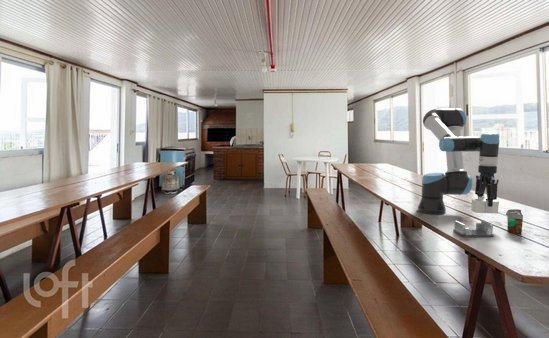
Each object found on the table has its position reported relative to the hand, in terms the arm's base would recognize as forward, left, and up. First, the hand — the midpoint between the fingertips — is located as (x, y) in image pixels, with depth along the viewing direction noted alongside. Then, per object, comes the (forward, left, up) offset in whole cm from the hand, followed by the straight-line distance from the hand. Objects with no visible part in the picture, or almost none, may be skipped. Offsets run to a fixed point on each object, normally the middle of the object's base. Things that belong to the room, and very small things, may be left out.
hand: (484, 210), depth 156 cm
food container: (+12, 0, -9) cm, 15 cm away
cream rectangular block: (0, 0, -1) cm, 1 cm away
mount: (-5, -13, -9) cm, 16 cm away
